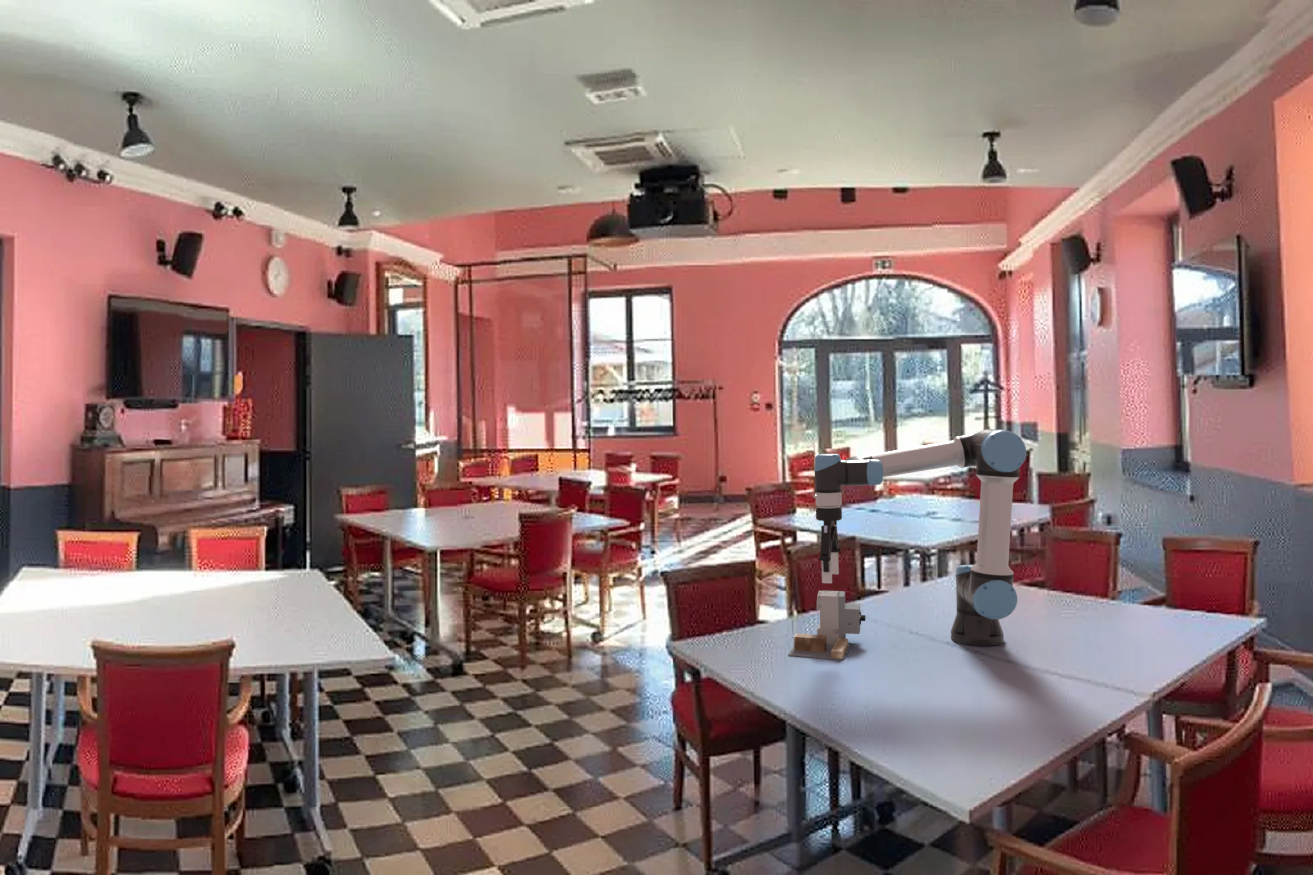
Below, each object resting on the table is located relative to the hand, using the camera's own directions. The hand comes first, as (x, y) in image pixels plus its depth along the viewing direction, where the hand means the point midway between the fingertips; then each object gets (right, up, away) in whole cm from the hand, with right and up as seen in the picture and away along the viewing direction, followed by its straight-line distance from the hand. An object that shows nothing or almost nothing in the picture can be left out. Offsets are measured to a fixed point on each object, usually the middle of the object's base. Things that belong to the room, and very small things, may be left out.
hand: (830, 578), depth 248 cm
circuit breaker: (+6, -22, +11) cm, 25 cm away
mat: (-3, -22, +2) cm, 22 cm away
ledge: (+3, -22, 0) cm, 22 cm away
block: (-1, -20, +1) cm, 20 cm away
